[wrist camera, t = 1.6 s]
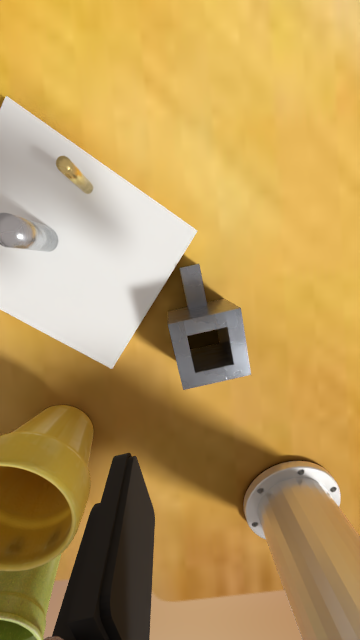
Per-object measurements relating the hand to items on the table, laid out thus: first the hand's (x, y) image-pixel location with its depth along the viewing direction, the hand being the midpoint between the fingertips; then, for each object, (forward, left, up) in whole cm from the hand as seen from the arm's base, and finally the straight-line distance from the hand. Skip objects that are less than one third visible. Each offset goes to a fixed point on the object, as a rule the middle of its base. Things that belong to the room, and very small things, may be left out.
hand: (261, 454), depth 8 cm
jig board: (+15, 0, -16) cm, 22 cm away
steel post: (+17, 0, -15) cm, 23 cm away
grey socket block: (+1, -1, -16) cm, 16 cm away
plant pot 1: (+7, +18, -16) cm, 25 cm away
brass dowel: (+16, -6, -15) cm, 23 cm away
